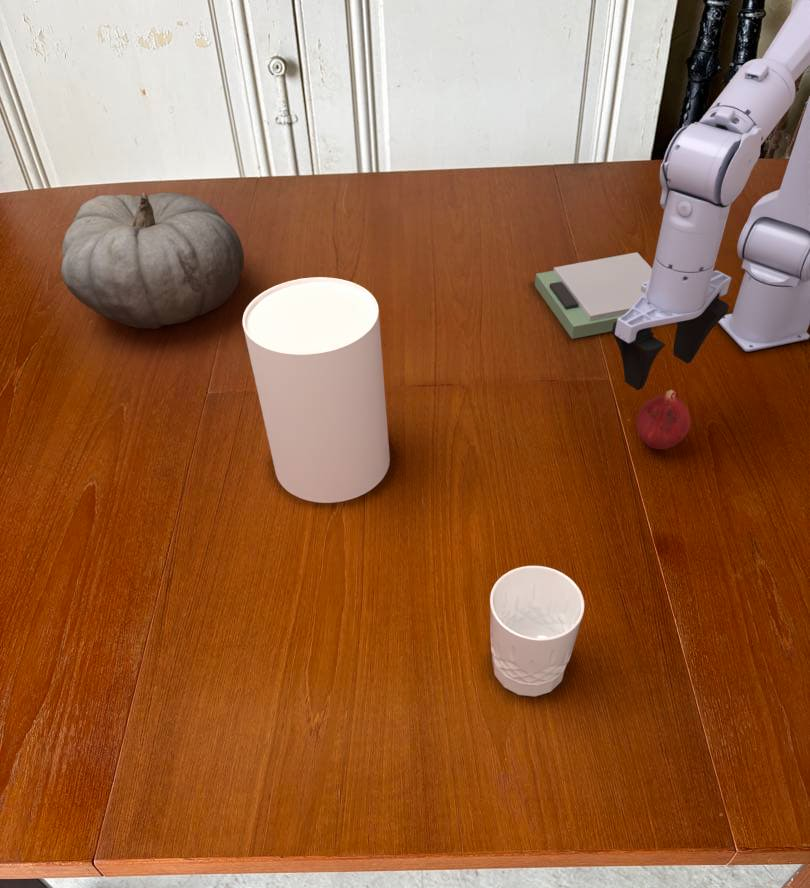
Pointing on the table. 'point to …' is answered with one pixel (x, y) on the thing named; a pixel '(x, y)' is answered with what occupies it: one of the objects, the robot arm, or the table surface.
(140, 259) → the gourd
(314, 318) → the canister
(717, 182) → the robot arm
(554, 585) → the white cup
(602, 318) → the scale
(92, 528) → the table surface
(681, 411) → the onion
